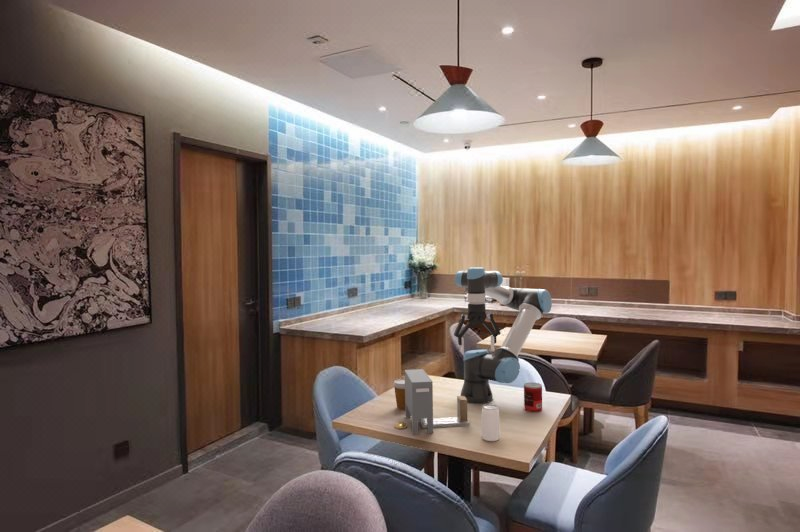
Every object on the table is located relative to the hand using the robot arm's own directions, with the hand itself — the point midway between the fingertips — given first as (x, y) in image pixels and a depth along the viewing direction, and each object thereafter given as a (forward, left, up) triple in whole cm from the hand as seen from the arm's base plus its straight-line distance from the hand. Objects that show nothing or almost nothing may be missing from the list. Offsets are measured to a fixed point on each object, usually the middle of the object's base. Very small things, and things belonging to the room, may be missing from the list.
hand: (477, 351), depth 209 cm
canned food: (-25, 0, -27) cm, 37 cm away
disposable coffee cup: (+31, -12, -27) cm, 43 cm away
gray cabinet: (+28, +10, -27) cm, 40 cm away
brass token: (+36, +12, -27) cm, 46 cm away
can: (+4, +30, -27) cm, 40 cm away
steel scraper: (+17, +11, -27) cm, 34 cm away
